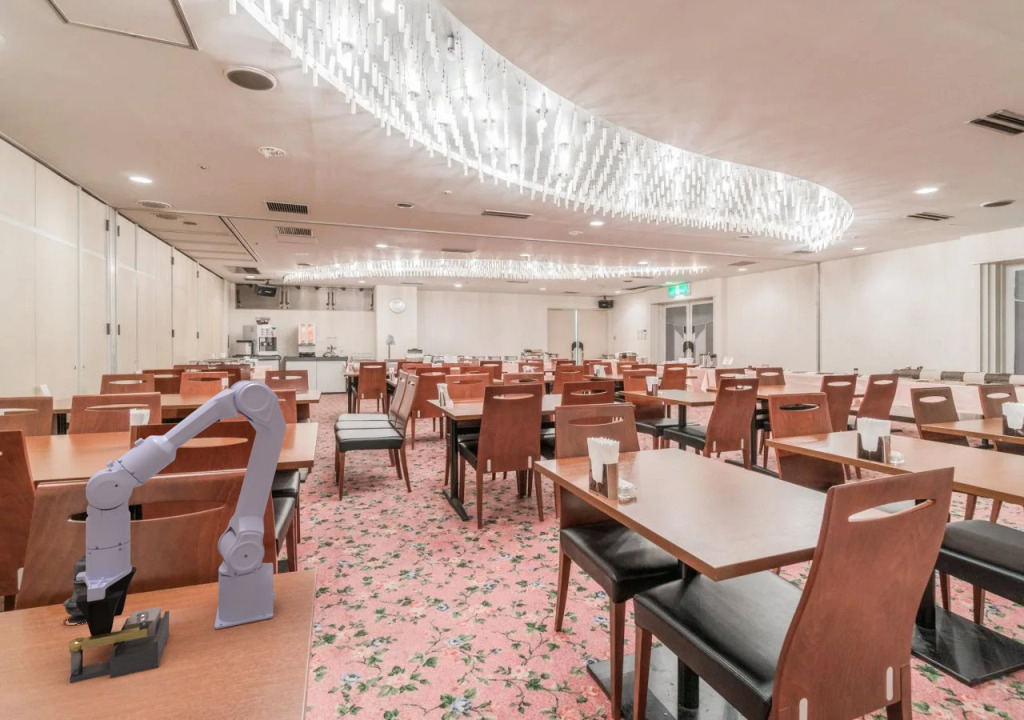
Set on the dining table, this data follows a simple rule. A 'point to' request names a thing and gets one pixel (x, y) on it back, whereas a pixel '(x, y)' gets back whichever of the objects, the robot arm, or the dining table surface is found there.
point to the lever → (109, 637)
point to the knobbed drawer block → (145, 615)
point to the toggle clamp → (124, 656)
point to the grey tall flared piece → (77, 594)
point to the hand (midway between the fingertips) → (108, 626)
